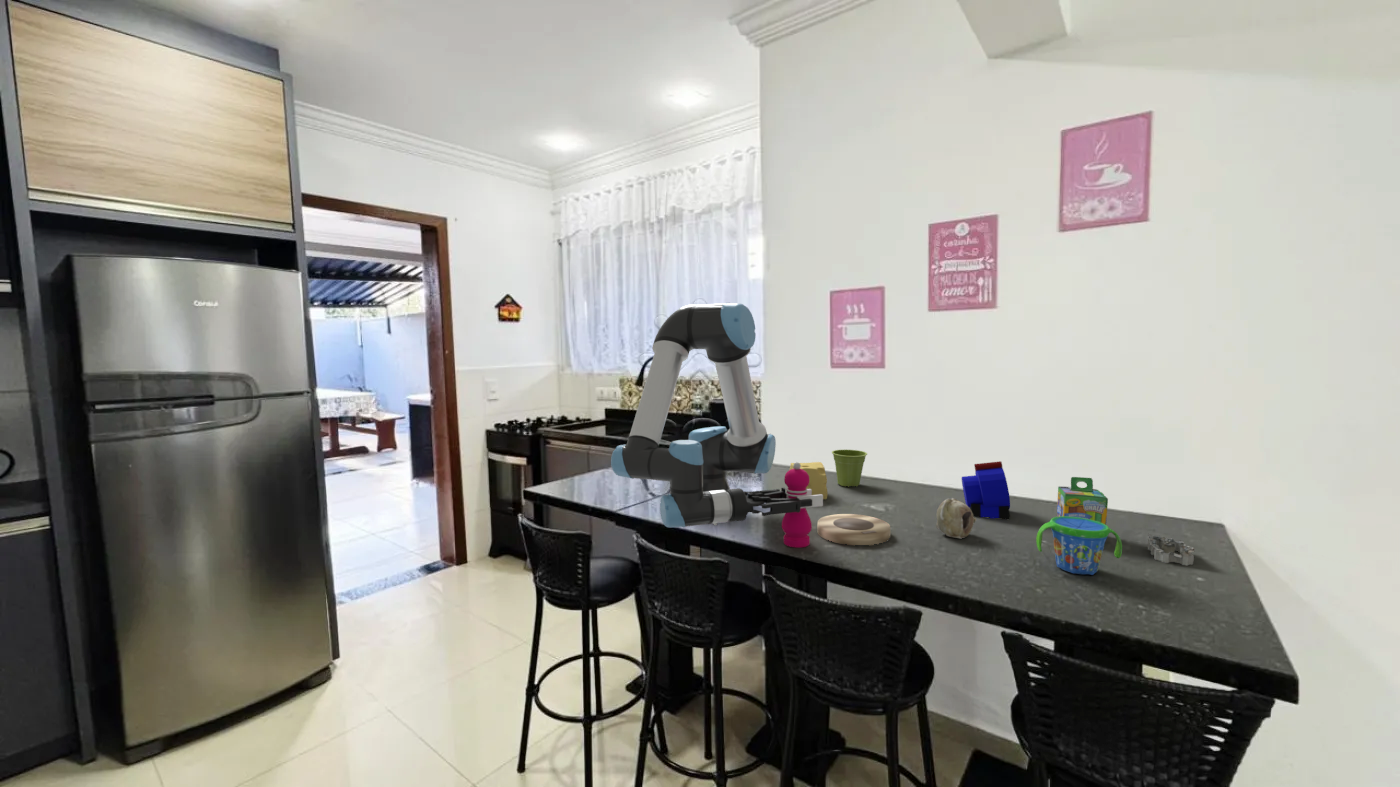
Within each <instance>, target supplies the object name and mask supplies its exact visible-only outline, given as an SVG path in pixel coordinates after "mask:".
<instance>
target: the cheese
mask: <svg viewBox="0 0 1400 787" xmlns="http://www.w3.org/2000/svg"><path fill="white" fill-rule="evenodd" d="M794 463H795V462H791V463H790V465H789V466H790V467H789V470H791V469H794V467H793V465H794ZM799 463H800V465H801V467H800V469H802V470H804V471H806V472H807V473H808V475H809V480H810V481H809V484H808V486H807V487H806V489H812V495H819V494H822V495H823V500H827V499H828V486H827V482H828V478H827V474H826V468H825V466H824V464H823V463H822V462H821V461H814V462H813V461H812V462H799ZM789 470H788V471H789Z"/></svg>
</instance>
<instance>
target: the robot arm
mask: <svg viewBox="0 0 1400 787" xmlns="http://www.w3.org/2000/svg"><path fill="white" fill-rule="evenodd" d="M755 342H756V325H755V320H754V317H753V314H752V312H751V311H750V309H749V308H748V307H747V306H746V305H744V304H743V303H735V302H734V303H733V302H725V303H708V304H706V303H705V304H697V303H696V304H688V305H684V306H681V307H680V308H678V309H676V310H675V311H674V312H672V313H671V314H670V315H669V316H668V318H666V320H665V321H664V322H663V324H662V325H661V326H660V327H659V329H658V331H657V333H656V335H655V337H654V341H653V344H652V347H651V348H652V352H653V353H654V355H653V357H652V360H651V363H650V367H649V370H648V373H647V377H646V380H645V384H644V386H643V390H642V393H641V397H640V400H639V403H638V406H637V409H636V413H635V415H634V416H635V417H634V419H633V423H632V426H631V429H630V433H629V436H628V439H627V442H626V444H620V445H617V446H616V447H615V449H614V450H613V451H612V454H611V457H610V466H611V470H612V471H613V473H614V474H615V475H616V476H618V477H622V478H628V479H632V480H633V479H638V480H639V479H640V480H650V481H661V482H669V493H667V494H663V495H662V496H661V497H660V502H659V509H660V510H659V511H660V512H659V513H660V519H661V522H662V523H663V525H664V527H666V528H688V527H695V526H704V525H711V524H713V525H714V526H718V524H720V523H721V524H722V523H727V522H730V523H735V522H743V521H745V520H746V518H747V516H748V514H749V513H752V514H754V515H757V514H760V513H761V516H763V517H766V516H770V515H779V514H785V513H791V512H797V513H799V512H800V508H806V509H807V508H818V507H823V506H824V499H823V495H822V494H819V495H812V489H807V495H806V496H798V497H797V498H788V495H787V494H786V493H787V490H786V487H781V490H780V489H779V488H776V489H775V488H773V489H767V490H766V489H765V490H754V491H753V490H752V491H746V490H745V491H744V490H743V489H742V488H740V487H739V488H731V487H730V485H729V481H728V478H727V474H728V472H735V473H736V472H737V473H745V474H754V475H757V474H768V472H769V471H771V468H772V466H773V463H774V460H775V454H776V448H777V447H776V446H777V444H776V437H775V435H774V434H772V433H767V427H766V426H765V425H764V424H763V423H762V422H760V420H759V414H758V410H757V403H756V400H755V395H754V394H755V392H754V389H753V388H754V387H753V382H752V379H751V372H750V367H749V362H748V358H747V356H748V355H749V354H750V352H751V350H752V349H751V348H753V347H754V345H755ZM693 350H705V351H706V355H707V358H708V360H709V361H710V362H712V363H714V365H715V368H716V373H717V379H718V382H719V386H720V391H721V394H722V399H723V404H724V409H725V413H726V417H727V422H728V427H729V429H727V427H726V426H719V425H717V426H710V427H709V426H708V427H702V428H697V429H694V430H692V431H690V432H689V434H688V439H678V440H672V441H670V443H669V448H667V447H666V448H665V447H659V445H660V443H661V439H662V435H663V432H664V427H665V424H666V421H667V418H668V414H669V411H670V407H671V403H672V401H673V396H674V394H675V393H674V392H675V389H676V385H677V382H678V379H679V375H680V372H681V369H682V365H683V362H684V361H685V362H686V360H688V357H689V355H690V352H691V351H693Z"/></svg>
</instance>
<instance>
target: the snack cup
mask: <svg viewBox="0 0 1400 787" xmlns="http://www.w3.org/2000/svg"><path fill="white" fill-rule="evenodd" d="M1047 529H1051V532H1052V537H1053V538H1052V539H1053V548H1054V549H1053V550H1054V558H1055V563H1056V567H1057V568H1060V569H1061V570H1063V571H1065V572H1067V573H1070V574H1076V575H1091V576H1093V575H1094V574H1096V573H1098V571H1099V568H1100V565H1101V561H1102V557H1103V556H1102V555H1103V551H1104V548H1105V544H1106V541H1107V539H1108V536H1109V534H1110V533H1111V534H1112V535H1114V536H1115V538H1116V539H1115V540H1116V544H1115V549H1114V552H1113V555H1114V556H1115V558H1116V559H1120V558H1121V557H1122V553H1123V542H1122V539H1121V537H1120V535H1119V534H1118V533H1117V532H1116V531H1115V530H1113V529H1111V528H1110V527H1109V526H1108V525H1107V524H1106V525H1105V524H1103V523H1101V522H1098V521H1094V520H1090V519H1085V518H1079V517H1068V516H1060V517H1057V516H1054V517H1052V518H1051V519H1050V521H1048V522H1045V523H1043V525H1041V526H1040V528H1039V529H1038V531H1037V533H1036V538H1035V539H1036V540H1035V542H1036V548H1037V550H1038V551H1039V552H1040V553H1042V552H1043V550H1042V542H1043V534H1044V531H1046V530H1047Z"/></svg>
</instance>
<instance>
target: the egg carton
mask: <svg viewBox="0 0 1400 787" xmlns="http://www.w3.org/2000/svg"><path fill="white" fill-rule="evenodd" d="M1147 550H1148V551H1150V554H1151V556H1154V557H1153V559H1154V560H1155V561H1159V562H1162V563H1166V564H1169V563H1176V564H1181V565H1182V566H1187V567H1188V566H1189V565H1192V566H1193V565H1194V560H1195V558H1194V557H1195V556H1194V554H1193V552H1196V551H1195V547H1193V546H1190V545H1187V544H1185V542H1184V541H1183V540H1179V541H1175V540H1174V537H1171V538H1169V537H1165V536H1160V535H1158V536H1157V535H1153V534H1150V533H1147ZM1177 551H1178V553H1176V552H1177Z"/></svg>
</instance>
